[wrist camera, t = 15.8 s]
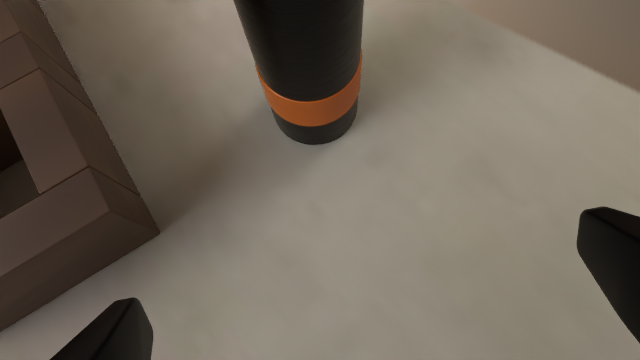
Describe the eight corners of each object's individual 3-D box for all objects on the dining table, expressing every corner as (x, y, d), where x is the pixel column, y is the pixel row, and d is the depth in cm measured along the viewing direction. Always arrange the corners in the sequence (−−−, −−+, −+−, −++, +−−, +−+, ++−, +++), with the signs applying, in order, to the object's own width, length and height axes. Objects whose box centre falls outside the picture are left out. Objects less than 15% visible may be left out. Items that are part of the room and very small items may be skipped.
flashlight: (311, 172, 18) (250, -100, 6) (246, 105, 19) (89, -237, 7) (384, 107, 19) (453, -249, 7) (318, 45, 20) (279, -356, 8)
